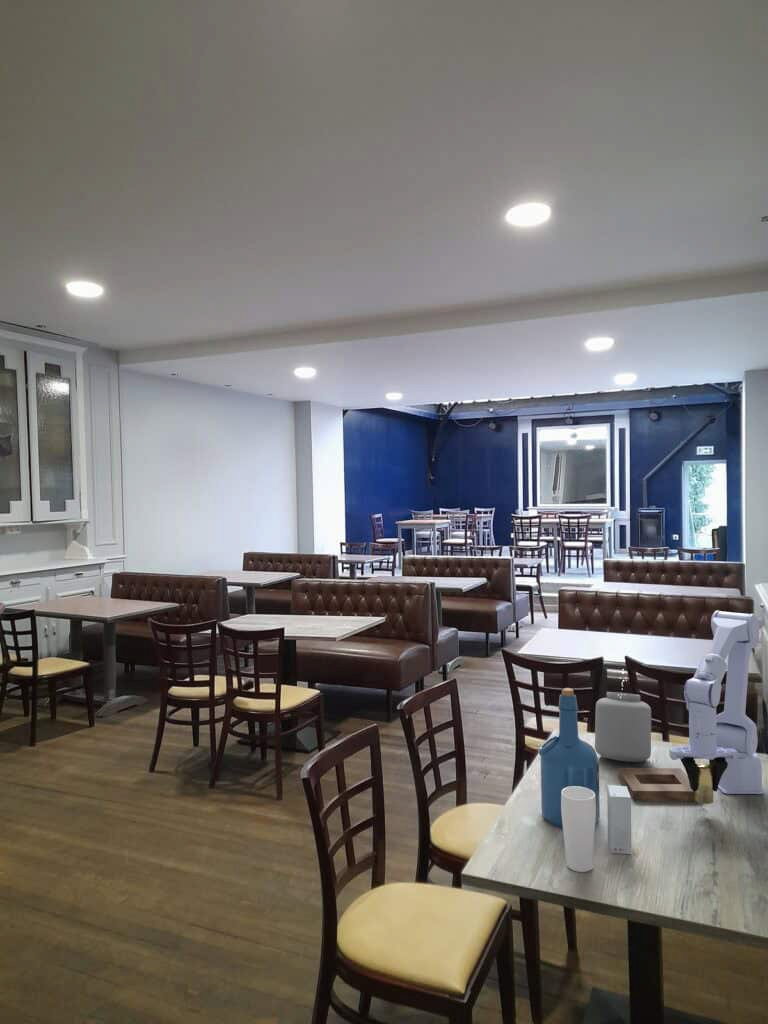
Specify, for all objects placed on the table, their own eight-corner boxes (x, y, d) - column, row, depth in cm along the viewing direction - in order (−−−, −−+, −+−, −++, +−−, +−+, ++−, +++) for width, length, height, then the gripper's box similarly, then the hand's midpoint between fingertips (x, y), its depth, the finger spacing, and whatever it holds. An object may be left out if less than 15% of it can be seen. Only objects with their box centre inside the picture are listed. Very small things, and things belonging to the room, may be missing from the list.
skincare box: (632, 855, 142) (631, 797, 142) (610, 853, 143) (609, 796, 143) (628, 840, 148) (627, 785, 148) (607, 839, 149) (606, 784, 149)
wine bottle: (603, 810, 162) (601, 684, 162) (595, 836, 150) (593, 700, 150) (545, 800, 168) (543, 679, 167) (533, 825, 156) (530, 694, 155)
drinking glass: (557, 858, 142) (556, 786, 141) (589, 856, 142) (588, 784, 142) (569, 876, 135) (567, 801, 135) (602, 874, 135) (601, 799, 135)
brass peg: (709, 796, 161) (708, 762, 161) (716, 804, 157) (715, 769, 157) (691, 796, 161) (691, 762, 161) (698, 803, 157) (697, 769, 157)
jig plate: (680, 777, 180) (680, 768, 180) (701, 801, 166) (701, 791, 166) (617, 777, 181) (617, 767, 181) (633, 800, 167) (633, 790, 167)
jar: (602, 743, 205) (601, 660, 205) (655, 751, 199) (654, 665, 198) (590, 766, 189) (589, 675, 188) (647, 775, 182) (646, 681, 181)
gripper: (676, 737, 155) (677, 796, 155) (743, 737, 154) (743, 797, 154) (666, 726, 162) (666, 783, 163) (729, 726, 161) (730, 783, 161)
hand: (703, 789), depth 159 cm, fingers closed on brass peg, 4 cm apart
